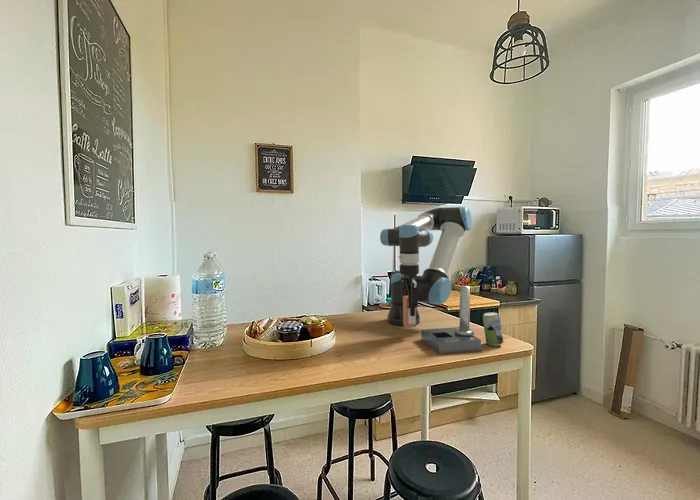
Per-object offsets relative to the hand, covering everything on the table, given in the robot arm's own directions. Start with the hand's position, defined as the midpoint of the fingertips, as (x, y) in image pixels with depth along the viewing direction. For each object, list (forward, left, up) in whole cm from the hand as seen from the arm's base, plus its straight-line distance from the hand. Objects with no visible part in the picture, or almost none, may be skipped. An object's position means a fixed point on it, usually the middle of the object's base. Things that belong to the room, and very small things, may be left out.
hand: (409, 321), depth 139 cm
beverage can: (+14, +28, -7) cm, 32 cm away
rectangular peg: (0, 0, -2) cm, 2 cm away
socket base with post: (+11, +12, -6) cm, 17 cm away
